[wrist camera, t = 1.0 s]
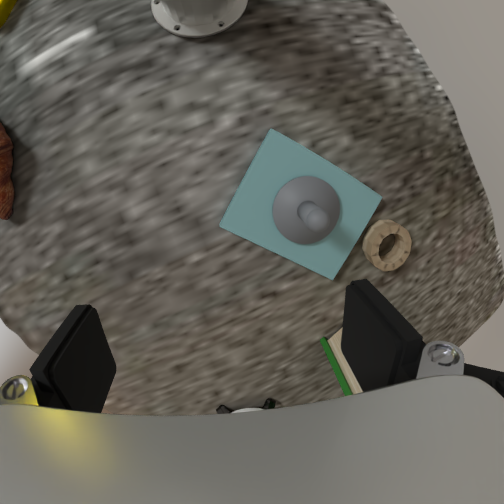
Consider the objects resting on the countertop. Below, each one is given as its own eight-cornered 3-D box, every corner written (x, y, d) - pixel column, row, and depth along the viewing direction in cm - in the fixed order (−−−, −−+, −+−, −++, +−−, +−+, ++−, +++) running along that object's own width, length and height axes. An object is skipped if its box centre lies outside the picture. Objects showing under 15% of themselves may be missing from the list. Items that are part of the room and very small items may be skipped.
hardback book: (319, 340, 49) (371, 456, 27) (352, 310, 47) (423, 418, 25) (371, 378, 54) (420, 469, 32) (398, 354, 53) (458, 441, 31)
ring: (378, 211, 42) (388, 216, 39) (408, 232, 43) (418, 238, 41) (354, 251, 44) (362, 259, 41) (385, 269, 45) (394, 277, 43)
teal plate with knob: (269, 129, 36) (281, 126, 29) (377, 195, 41) (406, 207, 33) (219, 223, 40) (219, 243, 33) (329, 275, 45) (348, 302, 37)
